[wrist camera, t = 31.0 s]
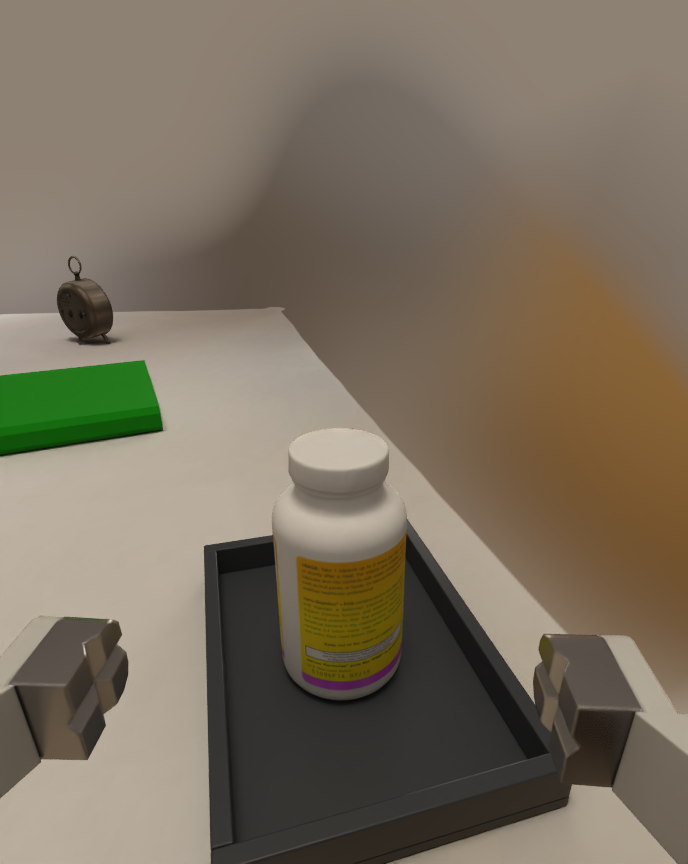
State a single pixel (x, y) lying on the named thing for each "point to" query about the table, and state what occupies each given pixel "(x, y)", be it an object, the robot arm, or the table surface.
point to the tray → (362, 730)
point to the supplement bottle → (340, 564)
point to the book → (76, 406)
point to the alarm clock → (84, 307)
